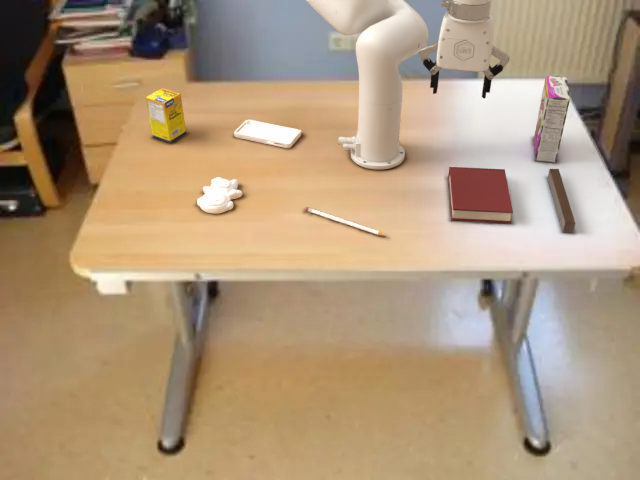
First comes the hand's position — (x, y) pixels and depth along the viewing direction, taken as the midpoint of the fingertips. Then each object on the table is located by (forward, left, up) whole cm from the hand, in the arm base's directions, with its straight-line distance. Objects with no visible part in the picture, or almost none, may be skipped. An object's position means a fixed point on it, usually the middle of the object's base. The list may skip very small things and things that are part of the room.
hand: (459, 93), depth 141 cm
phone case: (-43, +18, -23) cm, 52 cm away
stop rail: (+23, -5, -22) cm, 33 cm away
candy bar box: (+23, +17, -23) cm, 37 cm away
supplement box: (-67, +16, -23) cm, 72 cm away
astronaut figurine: (-49, -9, -23) cm, 54 cm away
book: (+6, -5, -22) cm, 24 cm away
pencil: (-21, -16, -22) cm, 35 cm away
